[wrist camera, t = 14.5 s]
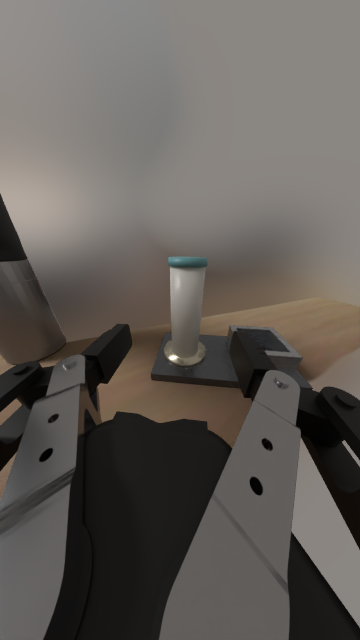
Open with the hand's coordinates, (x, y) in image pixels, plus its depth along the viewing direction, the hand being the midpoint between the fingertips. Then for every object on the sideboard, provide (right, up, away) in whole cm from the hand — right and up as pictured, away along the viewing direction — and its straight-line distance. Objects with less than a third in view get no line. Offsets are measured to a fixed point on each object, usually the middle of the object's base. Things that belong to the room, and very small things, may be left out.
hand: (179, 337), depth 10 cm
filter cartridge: (+1, -4, +15) cm, 16 cm away
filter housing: (+8, -6, +16) cm, 19 cm away
